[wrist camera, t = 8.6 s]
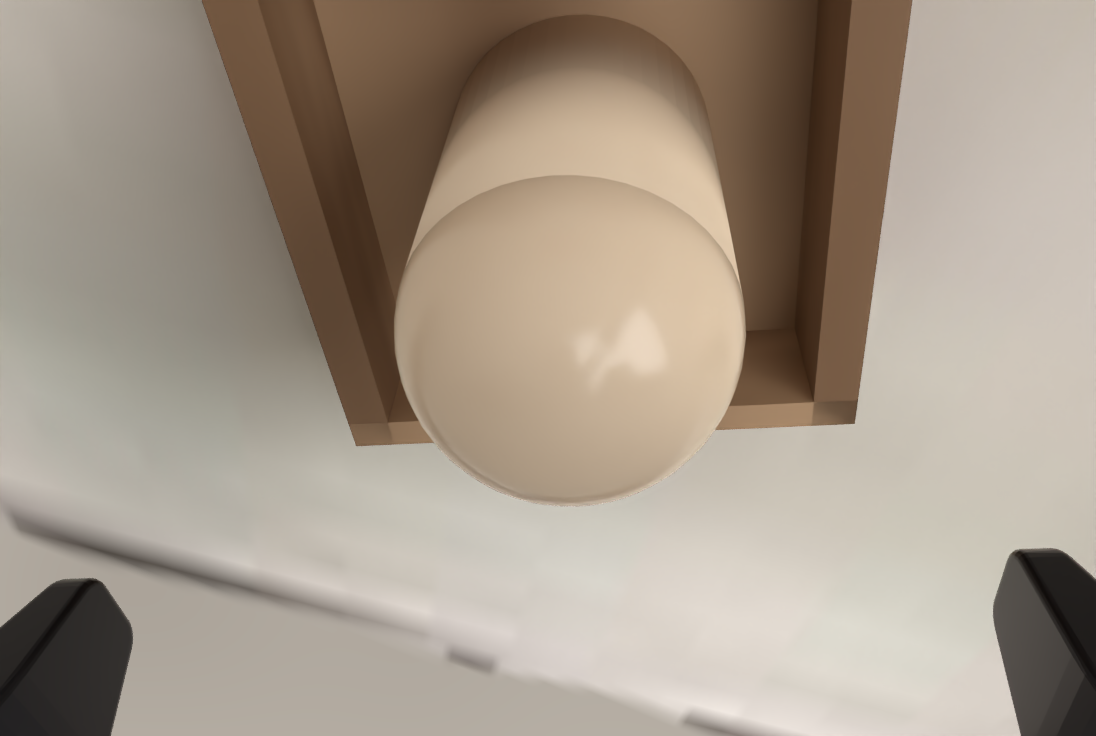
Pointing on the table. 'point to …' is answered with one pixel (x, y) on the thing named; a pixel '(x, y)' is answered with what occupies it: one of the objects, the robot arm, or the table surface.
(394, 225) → the crate
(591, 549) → the table surface
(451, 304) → the cylinder
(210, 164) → the table surface
